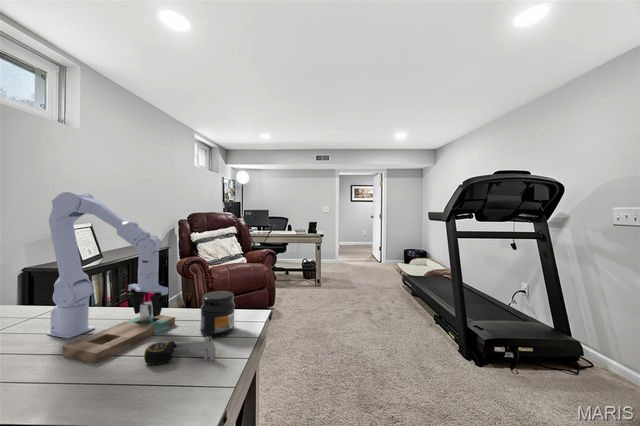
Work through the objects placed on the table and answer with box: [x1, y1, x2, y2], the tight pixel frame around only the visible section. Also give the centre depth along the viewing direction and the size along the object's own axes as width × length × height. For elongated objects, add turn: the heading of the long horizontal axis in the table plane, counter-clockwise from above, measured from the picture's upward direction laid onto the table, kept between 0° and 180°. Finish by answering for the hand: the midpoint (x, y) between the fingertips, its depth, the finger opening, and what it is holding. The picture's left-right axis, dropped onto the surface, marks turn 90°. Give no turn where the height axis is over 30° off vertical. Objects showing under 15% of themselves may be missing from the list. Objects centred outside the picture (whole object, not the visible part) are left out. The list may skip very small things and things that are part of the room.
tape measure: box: [143, 340, 177, 366], centre depth 73 cm, size 7×7×4 cm
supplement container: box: [200, 290, 236, 338], centre depth 92 cm, size 10×10×12 cm
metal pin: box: [139, 300, 154, 325], centre depth 92 cm, size 4×4×8 cm
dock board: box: [62, 314, 176, 364], centre depth 85 cm, size 12×26×2 cm, turn 164°
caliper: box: [174, 336, 216, 362], centre depth 77 cm, size 21×1×6 cm, turn 69°
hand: (147, 314), depth 93 cm, fingers open, 7 cm apart
